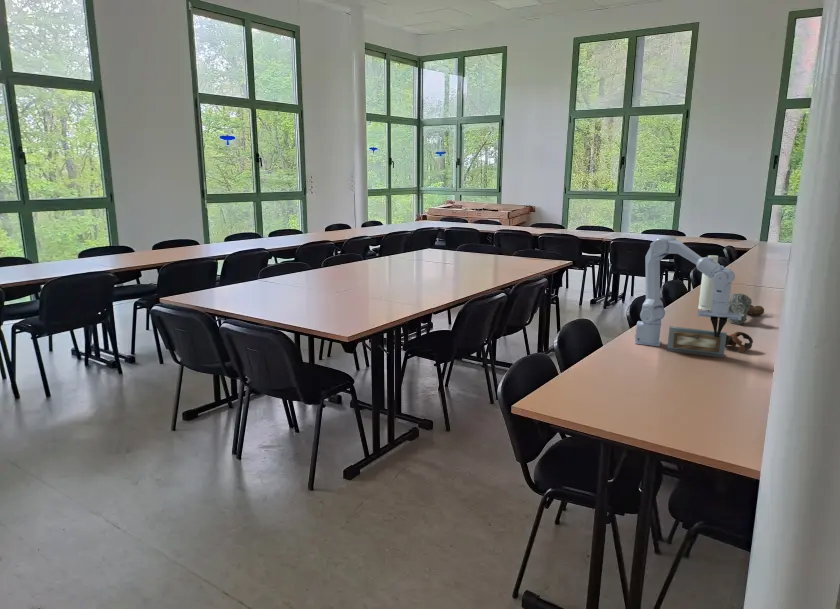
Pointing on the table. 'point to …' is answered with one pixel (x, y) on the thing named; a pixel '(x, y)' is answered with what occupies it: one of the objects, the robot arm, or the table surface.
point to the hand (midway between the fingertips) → (716, 336)
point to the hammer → (743, 308)
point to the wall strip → (696, 331)
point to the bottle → (707, 289)
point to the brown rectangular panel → (696, 341)
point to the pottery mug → (739, 341)
